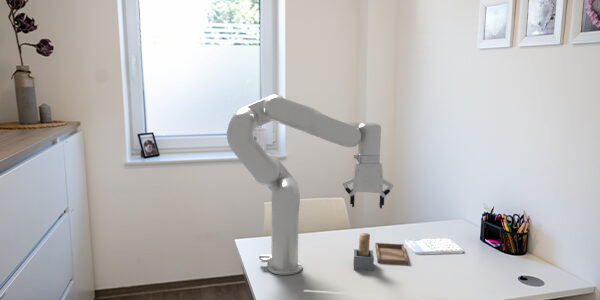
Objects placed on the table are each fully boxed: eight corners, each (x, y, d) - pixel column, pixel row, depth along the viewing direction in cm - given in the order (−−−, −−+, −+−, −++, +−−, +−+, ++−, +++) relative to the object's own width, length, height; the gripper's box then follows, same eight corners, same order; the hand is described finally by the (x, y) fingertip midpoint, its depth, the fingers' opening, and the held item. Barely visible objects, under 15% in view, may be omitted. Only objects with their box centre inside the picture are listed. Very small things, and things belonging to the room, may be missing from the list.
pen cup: (353, 271, 164) (354, 256, 163) (353, 263, 171) (354, 249, 170) (373, 272, 163) (373, 257, 162) (372, 264, 170) (372, 250, 169)
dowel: (358, 268, 165) (359, 236, 163) (357, 263, 169) (359, 232, 167) (368, 268, 165) (370, 236, 163) (367, 264, 168) (369, 233, 166)
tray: (408, 266, 169) (408, 260, 169) (377, 264, 170) (378, 259, 170) (402, 249, 185) (403, 244, 185) (375, 247, 186) (375, 242, 186)
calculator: (464, 254, 183) (464, 249, 182) (415, 255, 180) (415, 251, 180) (449, 241, 196) (449, 237, 195) (403, 242, 193) (403, 238, 193)
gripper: (343, 160, 157) (342, 208, 160) (395, 162, 155) (392, 211, 158) (343, 156, 164) (342, 202, 167) (393, 157, 162) (390, 204, 166)
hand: (366, 206), depth 163 cm, fingers open, 9 cm apart
